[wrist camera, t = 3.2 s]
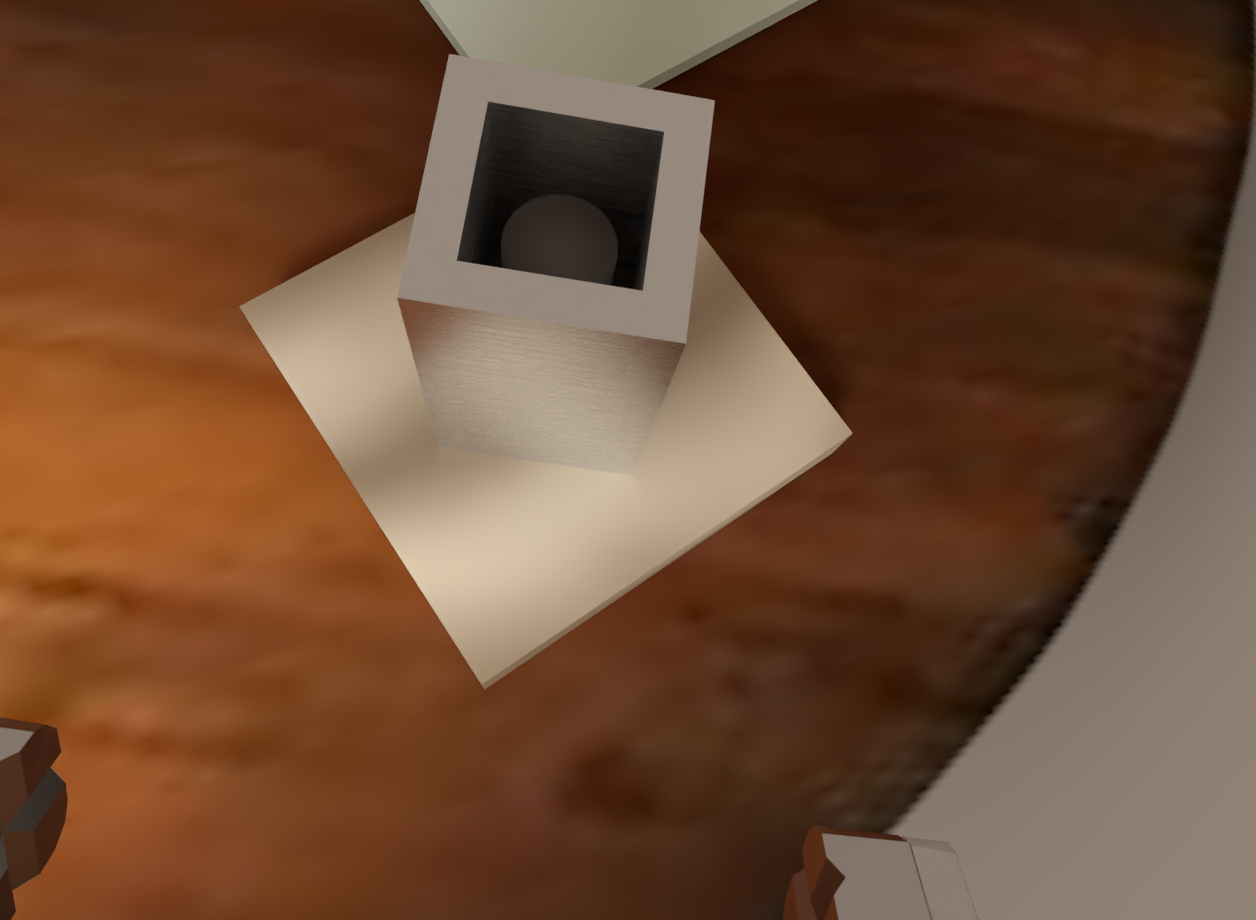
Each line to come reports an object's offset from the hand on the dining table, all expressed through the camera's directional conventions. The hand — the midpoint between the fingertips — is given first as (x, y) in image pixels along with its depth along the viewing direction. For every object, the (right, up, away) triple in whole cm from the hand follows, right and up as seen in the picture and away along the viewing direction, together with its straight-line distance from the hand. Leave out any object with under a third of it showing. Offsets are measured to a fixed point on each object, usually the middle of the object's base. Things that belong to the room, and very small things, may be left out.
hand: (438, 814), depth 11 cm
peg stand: (0, +6, +18) cm, 19 cm away
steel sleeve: (0, +6, +16) cm, 17 cm away
